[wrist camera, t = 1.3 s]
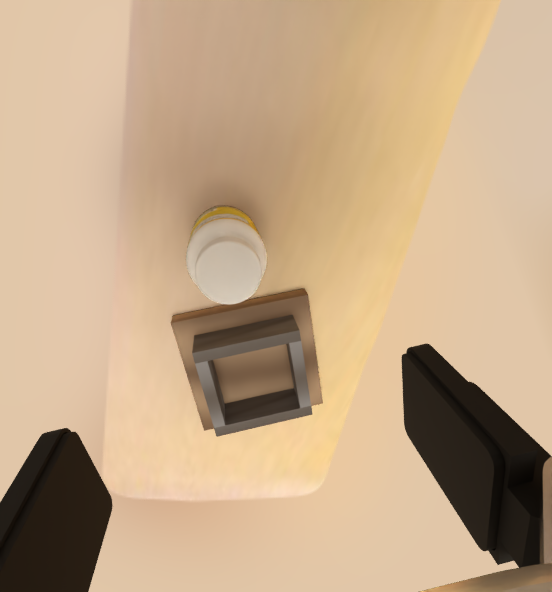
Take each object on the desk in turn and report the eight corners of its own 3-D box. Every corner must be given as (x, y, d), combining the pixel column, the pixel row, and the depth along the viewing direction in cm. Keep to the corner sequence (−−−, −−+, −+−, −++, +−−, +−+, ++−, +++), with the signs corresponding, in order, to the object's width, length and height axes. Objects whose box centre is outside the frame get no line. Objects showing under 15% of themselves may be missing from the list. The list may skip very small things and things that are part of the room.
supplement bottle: (252, 271, 32) (266, 320, 23) (189, 264, 31) (177, 312, 22) (261, 209, 30) (280, 235, 21) (194, 199, 29) (184, 223, 20)
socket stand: (172, 315, 33) (166, 340, 28) (304, 288, 33) (316, 308, 29) (204, 419, 37) (203, 454, 33) (319, 393, 38) (331, 423, 34)
